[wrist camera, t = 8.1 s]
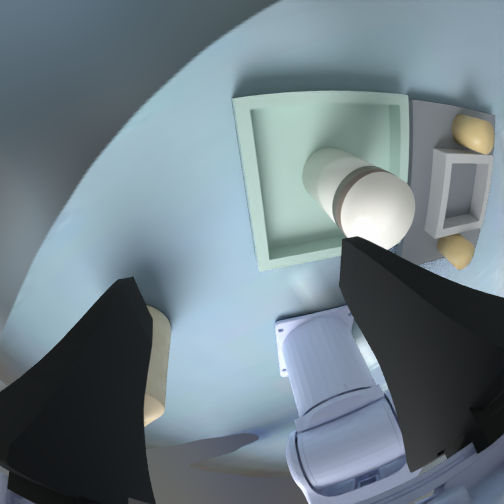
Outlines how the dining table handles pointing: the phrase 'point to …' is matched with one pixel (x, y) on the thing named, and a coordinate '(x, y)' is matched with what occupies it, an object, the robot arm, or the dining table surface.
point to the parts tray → (296, 154)
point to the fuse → (359, 196)
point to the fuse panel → (447, 181)
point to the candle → (157, 367)
